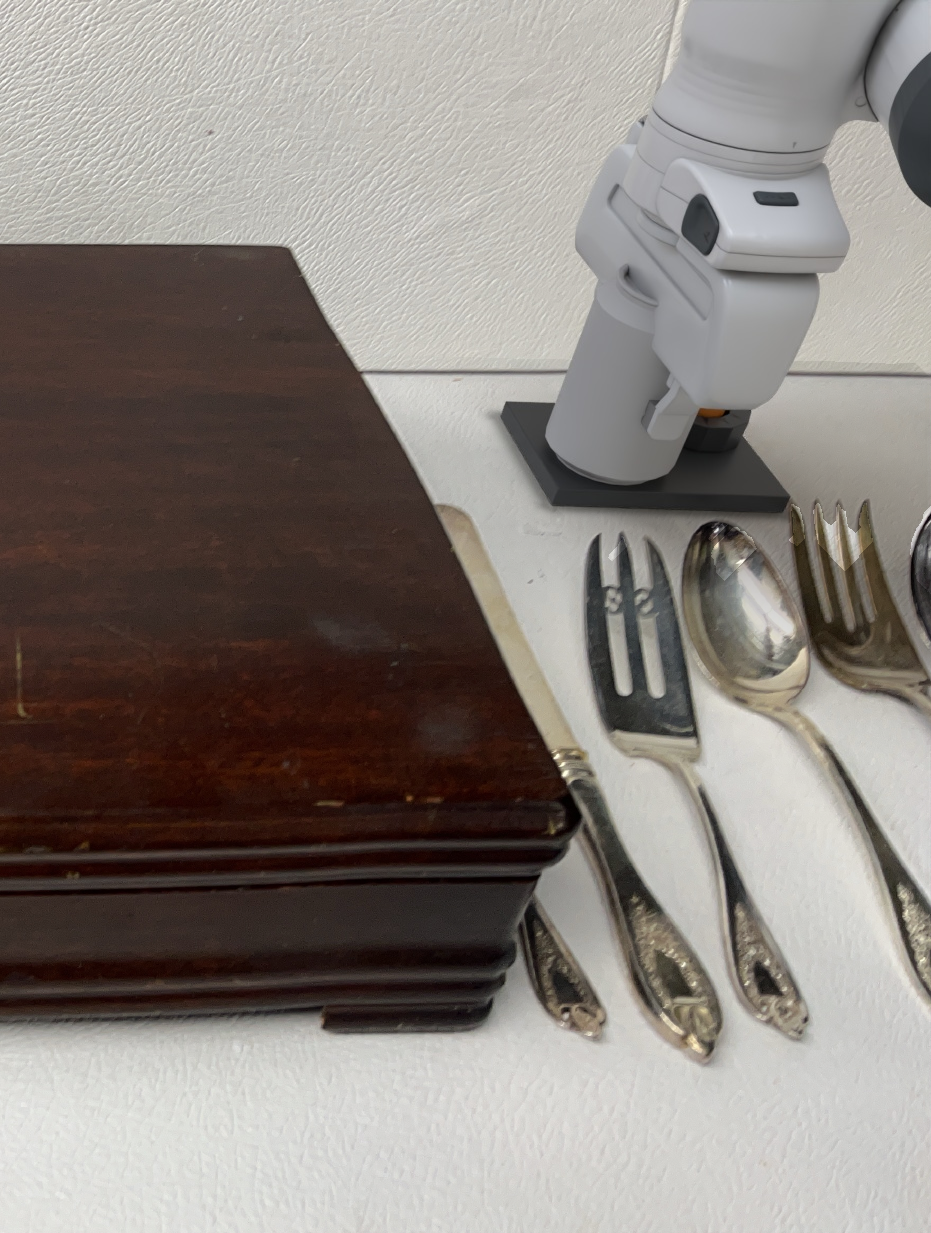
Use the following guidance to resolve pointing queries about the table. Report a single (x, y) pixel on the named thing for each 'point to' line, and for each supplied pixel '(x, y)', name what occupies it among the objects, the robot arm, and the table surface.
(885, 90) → the robot arm
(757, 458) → the black flat block
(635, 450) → the can
